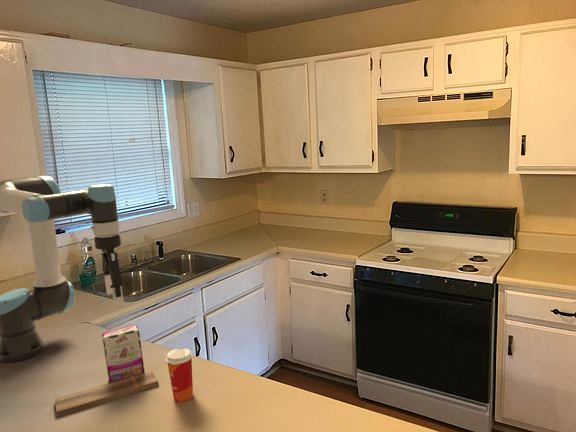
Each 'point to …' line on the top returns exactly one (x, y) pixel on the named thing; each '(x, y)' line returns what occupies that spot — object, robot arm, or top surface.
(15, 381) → the top surface
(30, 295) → the robot arm
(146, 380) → the walnut board
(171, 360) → the paper cup
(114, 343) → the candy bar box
